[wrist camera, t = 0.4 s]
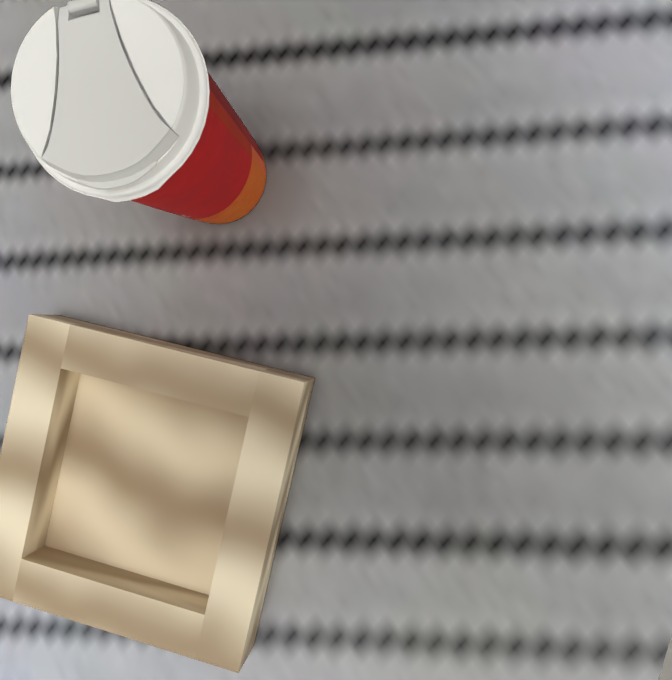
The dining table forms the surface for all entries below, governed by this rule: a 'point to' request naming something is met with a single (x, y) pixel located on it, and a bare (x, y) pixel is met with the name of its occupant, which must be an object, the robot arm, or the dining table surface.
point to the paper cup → (133, 112)
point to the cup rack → (146, 486)
